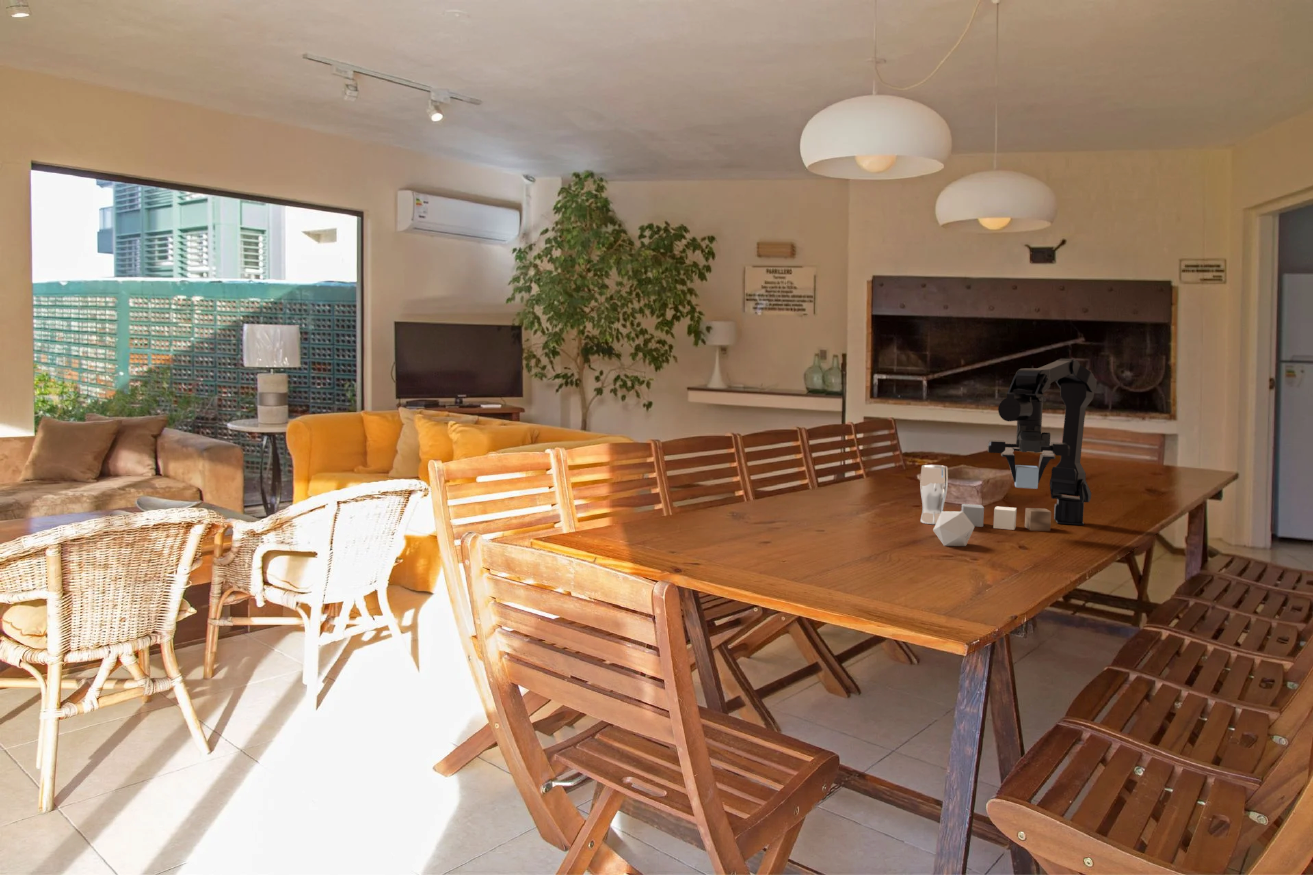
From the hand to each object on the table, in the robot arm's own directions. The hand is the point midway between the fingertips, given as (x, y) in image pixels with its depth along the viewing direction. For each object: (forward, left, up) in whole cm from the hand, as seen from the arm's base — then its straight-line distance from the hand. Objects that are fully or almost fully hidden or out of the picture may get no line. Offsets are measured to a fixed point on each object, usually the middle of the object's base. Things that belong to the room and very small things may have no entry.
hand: (1026, 482), depth 235 cm
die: (+17, +20, -13) cm, 29 cm away
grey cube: (+12, -9, -13) cm, 20 cm away
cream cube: (+4, -8, -13) cm, 16 cm away
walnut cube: (-4, -9, -13) cm, 16 cm away
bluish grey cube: (0, 0, -1) cm, 1 cm away
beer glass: (+22, -8, -13) cm, 27 cm away
